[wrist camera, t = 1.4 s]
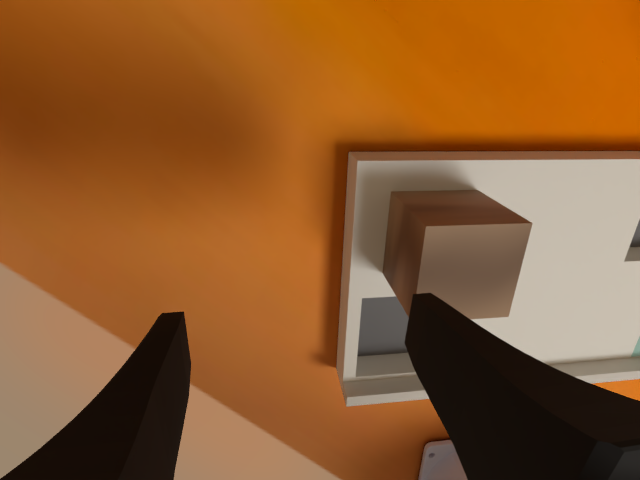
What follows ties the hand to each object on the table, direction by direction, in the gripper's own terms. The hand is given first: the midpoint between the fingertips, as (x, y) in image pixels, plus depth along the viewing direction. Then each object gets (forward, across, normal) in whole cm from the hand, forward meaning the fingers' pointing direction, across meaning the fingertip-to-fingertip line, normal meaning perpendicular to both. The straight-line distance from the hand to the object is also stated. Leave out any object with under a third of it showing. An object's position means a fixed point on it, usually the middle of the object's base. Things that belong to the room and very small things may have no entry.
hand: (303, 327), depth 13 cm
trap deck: (+9, -17, +4) cm, 19 cm away
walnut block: (+8, -8, +1) cm, 11 cm away
